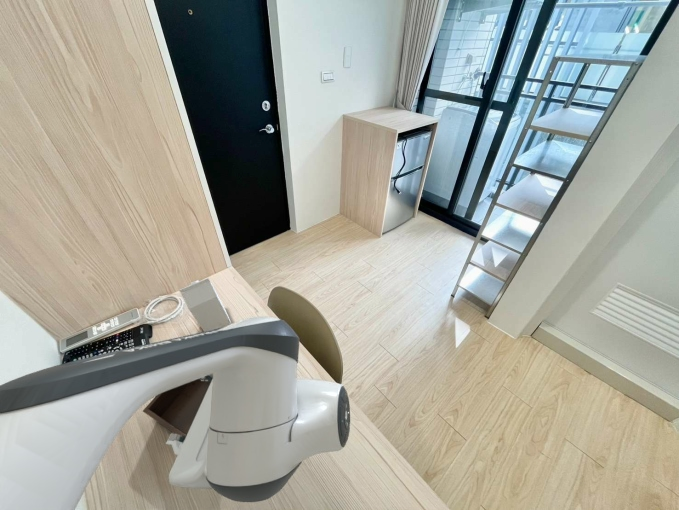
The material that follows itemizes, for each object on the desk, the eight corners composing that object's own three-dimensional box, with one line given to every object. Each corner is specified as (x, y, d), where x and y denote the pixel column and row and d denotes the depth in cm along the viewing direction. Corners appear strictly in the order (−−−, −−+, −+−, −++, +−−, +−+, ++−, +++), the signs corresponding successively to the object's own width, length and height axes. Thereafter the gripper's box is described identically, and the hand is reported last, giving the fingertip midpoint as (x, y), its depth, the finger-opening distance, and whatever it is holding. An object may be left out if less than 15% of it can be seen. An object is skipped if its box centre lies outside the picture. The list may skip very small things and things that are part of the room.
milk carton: (232, 326, 81) (212, 286, 68) (208, 338, 78) (182, 299, 65) (225, 310, 85) (204, 269, 72) (202, 321, 83) (176, 281, 69)
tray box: (157, 419, 63) (142, 411, 59) (197, 371, 72) (187, 359, 67) (203, 452, 59) (191, 445, 54) (241, 396, 67) (233, 386, 62)
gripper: (263, 337, 46) (204, 340, 52) (205, 493, 32) (133, 477, 38) (281, 353, 50) (225, 355, 55) (237, 499, 36) (168, 483, 42)
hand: (187, 405), depth 46 cm, fingers open, 8 cm apart
